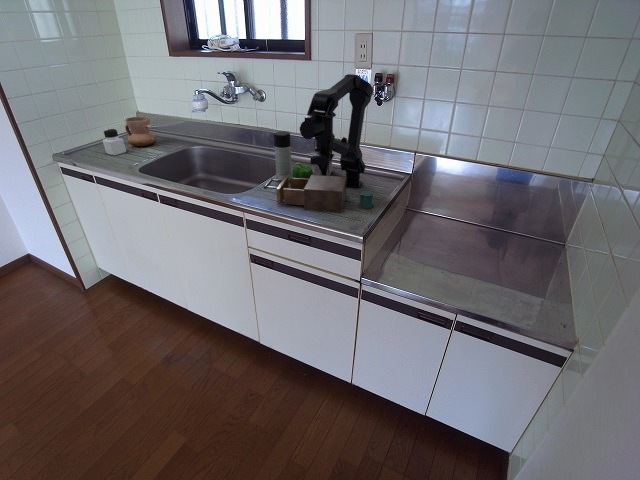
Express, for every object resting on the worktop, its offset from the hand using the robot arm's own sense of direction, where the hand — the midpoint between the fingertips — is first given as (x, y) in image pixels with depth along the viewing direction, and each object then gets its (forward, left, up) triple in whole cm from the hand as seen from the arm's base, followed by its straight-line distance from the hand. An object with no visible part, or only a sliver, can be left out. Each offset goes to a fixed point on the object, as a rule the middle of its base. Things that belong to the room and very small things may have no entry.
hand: (324, 175), depth 133 cm
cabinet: (0, +1, -11) cm, 11 cm away
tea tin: (0, +16, -11) cm, 19 cm away
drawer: (0, -13, -10) cm, 16 cm away
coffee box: (-30, -5, -11) cm, 32 cm away
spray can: (-20, -21, -11) cm, 31 cm away
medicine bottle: (-43, -117, -11) cm, 125 cm away
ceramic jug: (-59, -112, -11) cm, 127 cm away
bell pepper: (-15, -11, -11) cm, 22 cm away
